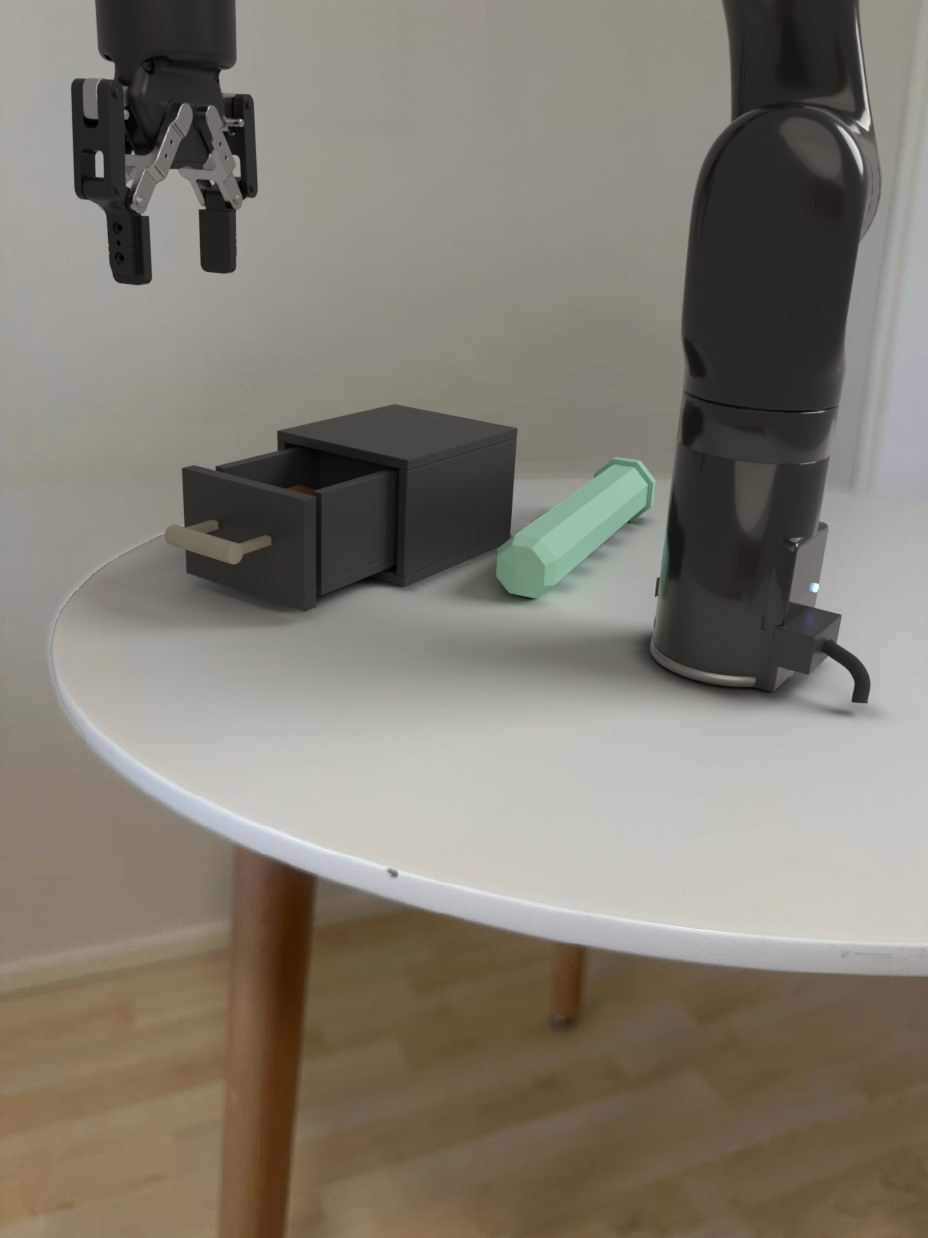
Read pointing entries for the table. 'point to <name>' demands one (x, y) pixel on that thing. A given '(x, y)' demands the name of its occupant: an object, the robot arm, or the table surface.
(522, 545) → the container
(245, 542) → the drawer
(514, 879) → the table surface
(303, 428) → the small storage cabinet
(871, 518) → the table surface
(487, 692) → the table surface
